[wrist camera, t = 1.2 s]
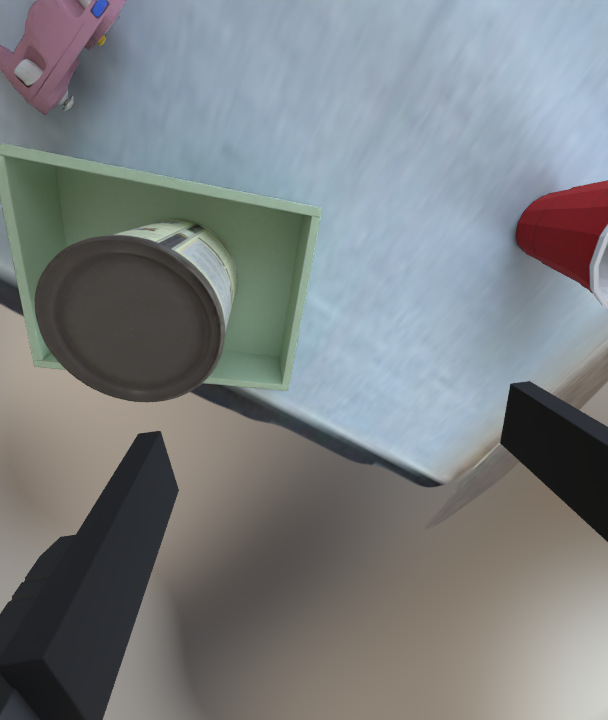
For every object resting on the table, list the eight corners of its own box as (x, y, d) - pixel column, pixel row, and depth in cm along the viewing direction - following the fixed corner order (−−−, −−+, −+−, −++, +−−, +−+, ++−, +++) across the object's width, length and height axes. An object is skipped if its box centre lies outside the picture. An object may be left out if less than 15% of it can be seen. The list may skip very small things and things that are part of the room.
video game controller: (59, 113, 26) (53, 136, 22) (-13, 53, 23) (-36, 66, 19) (135, 6, 24) (144, 9, 20) (68, -79, 21) (62, -97, 16)
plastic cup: (515, 299, 37) (617, 342, 26) (474, 221, 32) (577, 234, 22) (607, 232, 35) (760, 249, 24) (577, 137, 30) (748, 108, 19)
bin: (47, 151, 26) (-12, 140, 21) (311, 205, 30) (322, 208, 25) (72, 337, 33) (33, 367, 28) (284, 361, 37) (288, 391, 32)
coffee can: (180, 343, 34) (133, 428, 22) (103, 259, 30) (-12, 306, 17) (260, 290, 33) (258, 350, 20) (191, 193, 28) (135, 192, 16)
